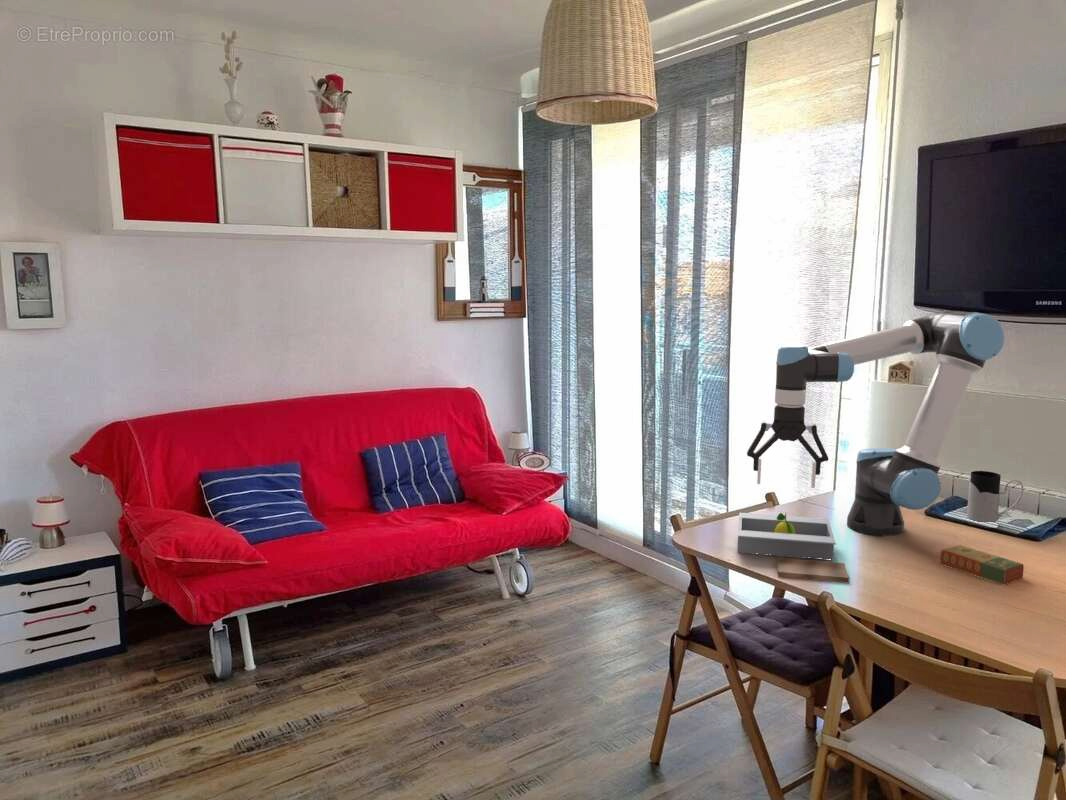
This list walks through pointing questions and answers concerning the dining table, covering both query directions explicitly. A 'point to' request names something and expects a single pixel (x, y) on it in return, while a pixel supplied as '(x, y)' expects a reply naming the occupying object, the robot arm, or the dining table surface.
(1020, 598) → the dining table surface
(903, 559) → the dining table surface
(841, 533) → the dining table surface
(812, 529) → the gray open box
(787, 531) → the lemon
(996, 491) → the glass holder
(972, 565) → the carton
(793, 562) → the walnut board
